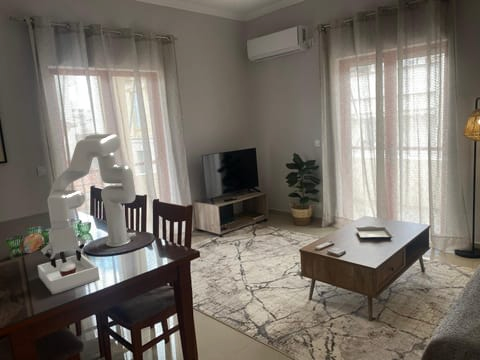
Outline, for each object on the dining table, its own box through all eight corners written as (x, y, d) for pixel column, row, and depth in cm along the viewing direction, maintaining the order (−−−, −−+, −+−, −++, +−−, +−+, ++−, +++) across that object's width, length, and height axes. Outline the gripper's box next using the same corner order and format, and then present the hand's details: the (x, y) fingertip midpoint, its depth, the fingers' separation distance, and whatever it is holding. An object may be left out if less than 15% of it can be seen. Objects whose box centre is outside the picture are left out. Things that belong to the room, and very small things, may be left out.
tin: (25, 255, 182) (22, 239, 181) (20, 255, 183) (17, 239, 181) (46, 245, 197) (44, 230, 195) (41, 245, 197) (39, 230, 196)
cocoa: (77, 279, 149) (74, 252, 147) (60, 282, 146) (57, 254, 144) (75, 270, 157) (73, 244, 155) (59, 273, 155) (57, 246, 152)
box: (82, 264, 166) (81, 253, 165) (99, 279, 149) (98, 266, 148) (39, 277, 154) (37, 265, 153) (52, 294, 138) (50, 281, 137)
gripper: (80, 218, 156) (85, 255, 159) (35, 227, 145) (42, 267, 148) (85, 221, 150) (90, 259, 153) (40, 231, 139) (46, 272, 142)
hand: (66, 263), depth 151 cm, fingers open, 9 cm apart
